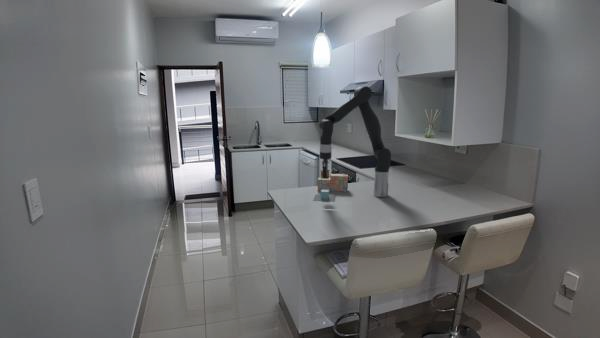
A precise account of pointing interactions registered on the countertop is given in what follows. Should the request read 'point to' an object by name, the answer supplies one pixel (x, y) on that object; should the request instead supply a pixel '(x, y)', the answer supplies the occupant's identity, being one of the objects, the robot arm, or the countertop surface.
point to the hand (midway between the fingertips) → (325, 176)
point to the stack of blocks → (334, 183)
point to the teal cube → (324, 194)
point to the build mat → (331, 199)
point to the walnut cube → (322, 174)
